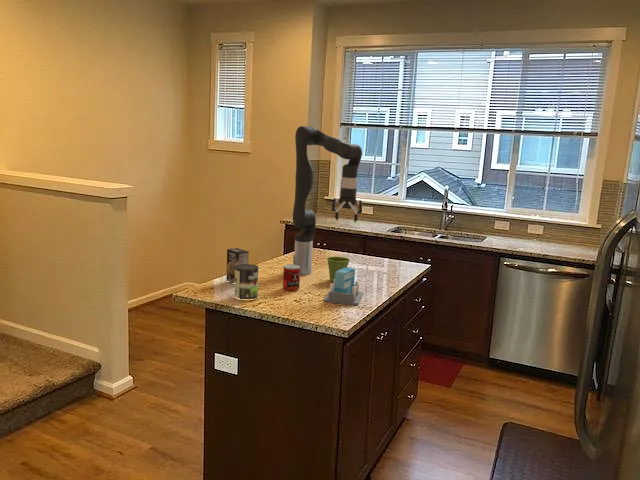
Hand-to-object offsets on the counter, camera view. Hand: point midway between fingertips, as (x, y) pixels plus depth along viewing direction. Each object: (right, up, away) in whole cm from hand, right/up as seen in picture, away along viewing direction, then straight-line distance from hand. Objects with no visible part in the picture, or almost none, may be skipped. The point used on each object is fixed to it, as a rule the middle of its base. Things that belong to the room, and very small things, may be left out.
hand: (346, 220), depth 264 cm
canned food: (-26, -32, -4) cm, 42 cm away
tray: (-2, -35, -14) cm, 38 cm away
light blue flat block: (-2, -34, -14) cm, 37 cm away
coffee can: (-45, -35, -21) cm, 61 cm away
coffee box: (-52, -30, +2) cm, 60 cm away
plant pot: (-4, -30, +15) cm, 34 cm away
